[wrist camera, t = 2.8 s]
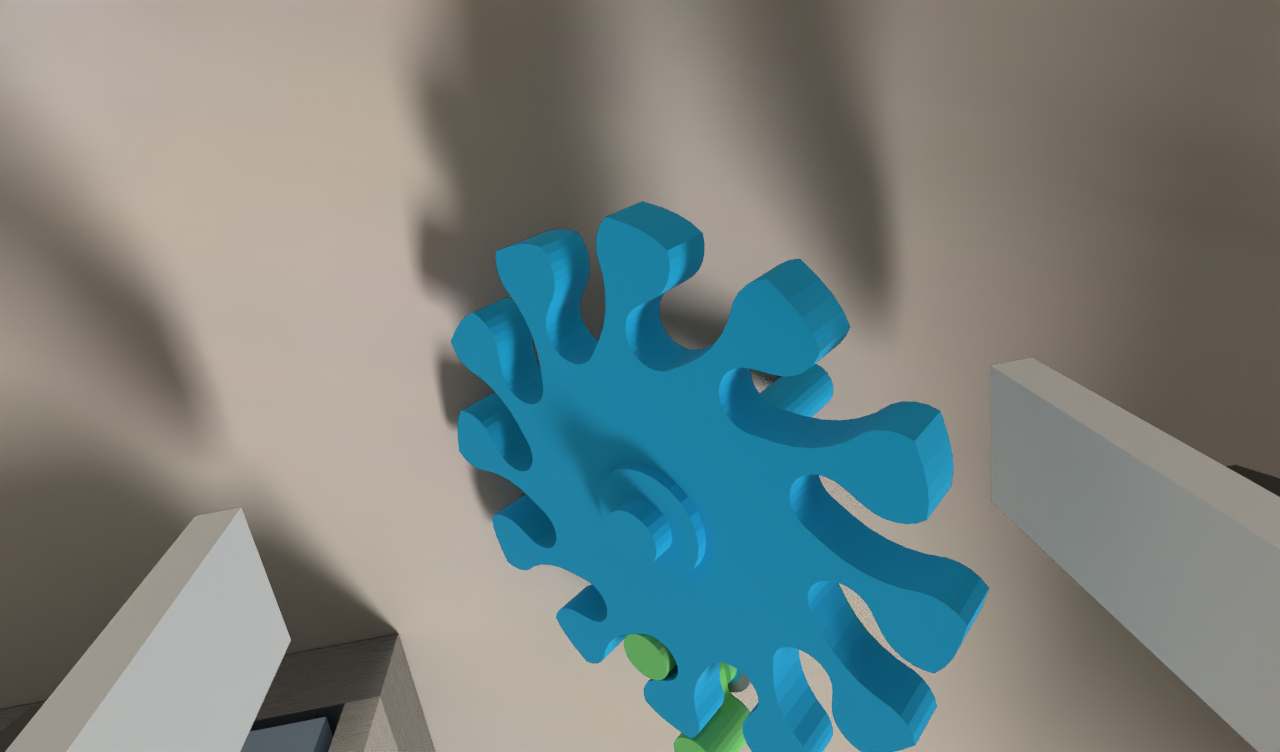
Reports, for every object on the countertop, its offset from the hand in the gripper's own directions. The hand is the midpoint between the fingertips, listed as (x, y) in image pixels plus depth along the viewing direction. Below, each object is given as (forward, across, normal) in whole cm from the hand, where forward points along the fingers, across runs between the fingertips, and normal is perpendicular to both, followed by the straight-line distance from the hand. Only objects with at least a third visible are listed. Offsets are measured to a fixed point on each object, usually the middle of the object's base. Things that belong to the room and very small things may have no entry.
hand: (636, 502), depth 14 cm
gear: (+3, -1, 0) cm, 3 cm away
